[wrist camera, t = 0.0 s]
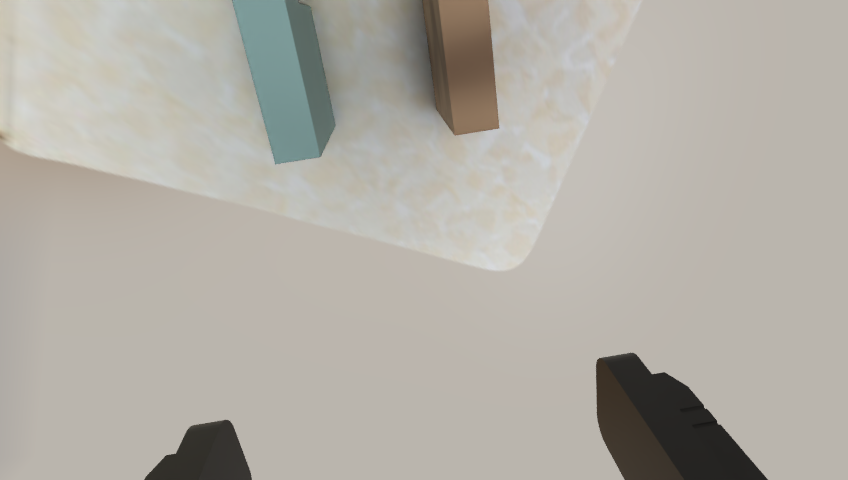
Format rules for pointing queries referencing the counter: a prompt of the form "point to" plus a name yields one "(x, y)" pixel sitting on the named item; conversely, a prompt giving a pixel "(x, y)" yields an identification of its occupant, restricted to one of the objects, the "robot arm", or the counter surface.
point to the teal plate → (287, 76)
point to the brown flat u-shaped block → (462, 63)
